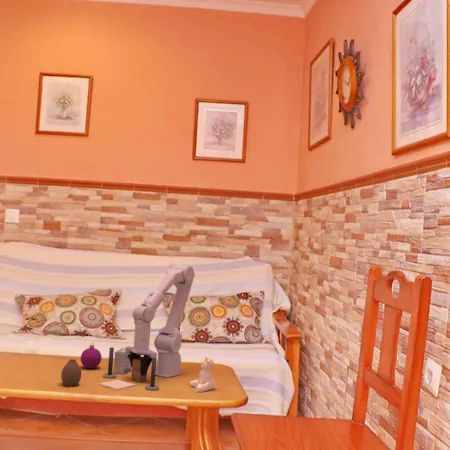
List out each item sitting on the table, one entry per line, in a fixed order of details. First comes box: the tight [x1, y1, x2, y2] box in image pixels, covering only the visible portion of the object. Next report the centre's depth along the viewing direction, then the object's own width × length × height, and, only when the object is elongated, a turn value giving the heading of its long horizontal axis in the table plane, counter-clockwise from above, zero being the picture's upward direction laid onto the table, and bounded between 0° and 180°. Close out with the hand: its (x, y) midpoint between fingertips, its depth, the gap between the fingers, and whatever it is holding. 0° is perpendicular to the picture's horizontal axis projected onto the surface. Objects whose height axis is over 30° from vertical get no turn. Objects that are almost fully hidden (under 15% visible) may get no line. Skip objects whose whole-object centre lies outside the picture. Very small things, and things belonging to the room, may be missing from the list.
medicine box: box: [113, 347, 132, 375], centre depth 224 cm, size 8×4×9 cm, turn 168°
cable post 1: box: [102, 346, 117, 379], centre depth 214 cm, size 5×5×11 cm
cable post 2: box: [144, 357, 160, 392], centre depth 201 cm, size 5×5×11 cm
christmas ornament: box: [80, 343, 102, 370], centre depth 226 cm, size 8×8×10 cm
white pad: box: [99, 379, 136, 391], centre depth 202 cm, size 9×9×1 cm
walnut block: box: [131, 358, 148, 383], centre depth 211 cm, size 4×4×8 cm
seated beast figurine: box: [189, 355, 216, 393], centre depth 206 cm, size 10×9×12 cm
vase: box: [60, 358, 82, 387], centre depth 199 cm, size 7×7×9 cm
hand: (139, 374), depth 211 cm, fingers closed on walnut block, 4 cm apart
